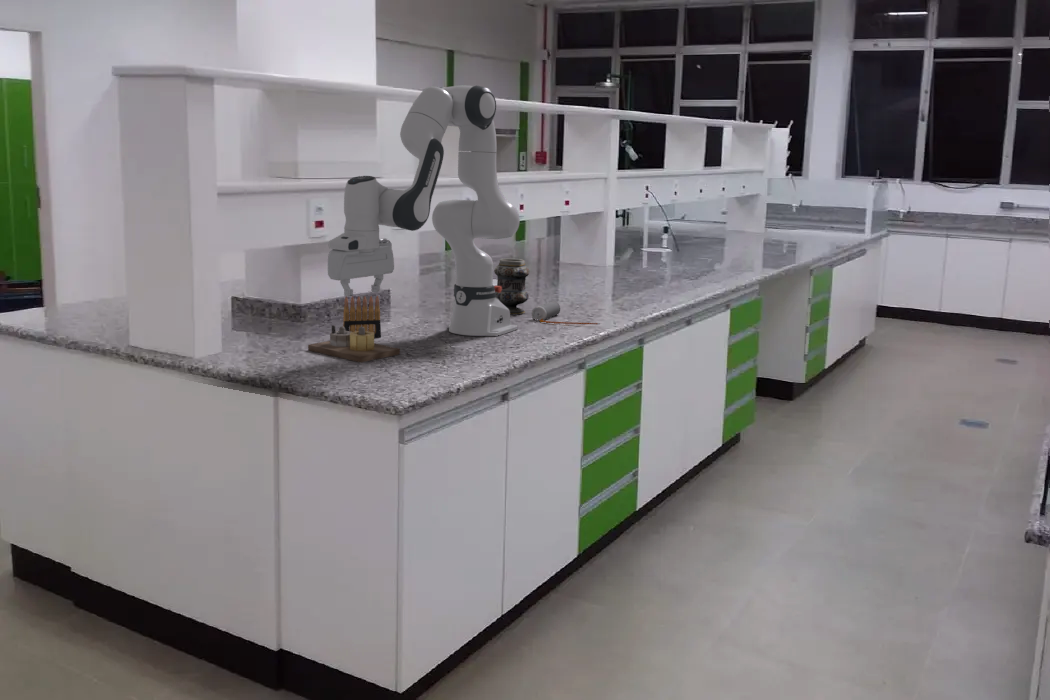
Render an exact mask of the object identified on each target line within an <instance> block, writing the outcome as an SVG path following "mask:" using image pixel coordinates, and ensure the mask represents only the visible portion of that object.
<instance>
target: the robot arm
mask: <svg viewBox="0 0 1050 700" xmlns="http://www.w3.org/2000/svg"><path fill="white" fill-rule="evenodd" d="M496 112H497V100H496V98H495V95H494V94H493V92H492V91H491V89H490V88H488V87H485V86H481V85H468V84H467V85H465V84H464V85H462V84H461V85H460V84H459V85H458V84H457V85H453V86H447V87H446V86H445V87H444V86H441V87H440V86H433V85H432V86H428V87H426V88H424V89H423V90H422V92H420V93H419V95H418V96H417V97H416V99H415V100H414V102H413V104H412V105H411V107H410V108H409V111H408V113H407V115H406V116H405V118H404V120H403V123H402V125H401V128H400V133H399V137H400V141H401V143H402V145H403V147H404V148H405V150H407V151H408V152H409V153H410V154H411V155H412V156H414V157H415V158H417V159H418V160H419V161H418V165H417V168H416V171H415V174H414V178H413V181H412V184H411V185H410V187H408V188H406V189H404V190H403V189H393V188H388V187H386V186H384V185H383V184H381V183H380V182H379V181H378V180H377V178H376V177H375V176H372V175H361V176H360V175H359V176H354V177H351V178H349V179H348V180H347V182H346V184H345V188H344V194H343V213H344V215H345V216H344V217H345V223H344V227H343V229H344V230H343V231H344V232H343V233H341V234H340V235H337V236H336V237H333V238H332V239H330V240H329V241H328V248H329V249H330V251H329V253H328V255H327V275H328V278H329V279H330V280H333V281H340V282H339V283H340V285H341V287H342V289H343V290H344V292H343V295H344V297H346V296H347V298H348V297H352V296H353V297H354V289H353V288H351V287H350V285H349V284H350V283H351V279H352V280H353V279H361V278H366V277H372V276H373V278H374V282H373V284H371V286H370V287H371V293H372V292H373V293H378V292H380V291H381V284H382V282H383V281H384V275H387V274H392V273H394V270H395V259H394V258H395V257H394V253H393V246H392V242H391V241H390V239H388V238H385V237H384V238H380V226H384V227H385V226H386V227H391V228H392V227H393V228H400V229H402V230H406V231H411V232H412V231H413V232H414V231H418V230H420V229H421V228H422V227H423V226H424V225H425V224H426V223H427V221H428V219H429V216H430V212H431V204H432V198H433V195H434V192H435V188H436V185H437V182H438V179H439V175H440V173H441V168H442V165H443V160H444V155H445V152H444V151H445V150H444V146H443V144H442V142H443V141H442V140H443V138H444V135H445V133H446V130H447V129H448V127H454V128H455V127H458V130H459V140H458V151H457V152H458V155H457V156H458V157H457V158H458V160H457V161H458V162H457V177H458V180H459V181H460V182H461V183H462V184H463V185H465V186H466V187H468V188H469V189H470V190H473V191H474V192H475V194H476V197H477V200H474V199H473V200H471V199H450V200H444V201H440V202H438V203H437V204H436V205H435V207H434V209H433V211H432V214H431V215H432V216H431V221H432V225H433V228H434V230H435V231H436V232H437V234H439V235H440V236H441V237H442V238H443V239H444V240H445V241H446V242H447V244H448V245H449V247H450V249H451V252H452V254H453V258H454V267H455V284H454V285H453V297H454V300H453V303H452V306H451V307H452V308H451V314H450V315H451V316H450V323H448V326H447V327H448V332H450V333H452V334H456V335H461V336H471V337H472V336H476V337H477V336H479V337H480V336H481V337H483V336H485V337H486V336H487V337H497V336H498V335H499V336H502V335H505V334H507V333H510V332H513V331H517V330H518V329H519V325H517V324H514V323H511V315H510V311H509V309H508V308H507V307H506V306H505V305H503V304H502V303H501V302H500V301H499V300H498V299H497V298H496V292H498V293H500V292H501V291H502V289H501V288H502V287H501V286H497V285H493V283H494V281H493V280H494V279H493V278H494V262H493V258H492V257H491V256H490V255H489V254H488V253H487V252H485V250H482V249H480V248H479V247H478V246H477V245H476V244H475V239H485V240H486V239H487V240H501V239H502V240H503V239H508V238H512V237H513V236H514V235H515V234H516V233H517V231H518V230H519V226H520V221H521V220H520V214H519V212H518V209H517V208H516V207H515V205H513V204H512V203H511V202H510V201H509V200H508V199H507V198H506V197H505V195H504V194H503V192H502V190H501V188H500V185H499V182H498V175H497V172H498V171H497V152H498V151H497V150H498V149H497V145H498V144H497V133H496V125H495V121H494V118H495V116H496Z"/></svg>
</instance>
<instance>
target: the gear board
mask: <svg viewBox="0 0 1050 700" xmlns="http://www.w3.org/2000/svg"><path fill="white" fill-rule="evenodd" d="M338 329H339V330H336V325H331V331H330V333H329V335H330V336H329V337H330V338H329V340H327V341H321V342H317V343H310V344H307V347H308V348H307V350H308V351H310V352H313V353H314V352H315V353H318V354H323V355H327V356H332V357H335V358H341V359H344V360H348V361H353V362H357V363H364V362H369V361H373V360H379V359H384V358H389V357H393V356H394V357H395V356H397V355H400V354H401V349H400V348H398V347H394V346H389V345H383V344H379V343H376V342H374V350H369V351H355V350H351V349H350V330H349V331H345V327H343V325H342V326H340V327H338ZM359 335H365V328H364V327H360V328H359Z"/></svg>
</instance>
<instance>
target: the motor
mask: <svg viewBox="0 0 1050 700" xmlns="http://www.w3.org/2000/svg"><path fill="white" fill-rule="evenodd" d="M560 313H561V306H560V303H559V302H557V301H554V300H551V301H549V302H546V303H544V304H541V305H537V306H535V307H534V308H533V309H532V311H531V318H532V319H533V320H534V319H536V320H535V321H537V319H538V320H539V321H540V322H539V323H541V322H546V323H554V324H565V325H601V323H599V322H571V321H570V322H569V321H566V322H565V321H549V320H548V319H550V317H551V318H553V317H556V316H557V314H558V315H559V314H560ZM555 315H556V316H555ZM552 316H553V317H552ZM547 318H548V319H547ZM545 319H546V320H545Z"/></svg>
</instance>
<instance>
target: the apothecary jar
mask: <svg viewBox="0 0 1050 700" xmlns="http://www.w3.org/2000/svg"><path fill="white" fill-rule="evenodd" d="M493 273H494V274H495V275H496V276H497V279H496V281H497V282H496V283H497V284H496V286H501V287H502V288H501V289H502V291H501V292H500V293H498V292H496V298H497V299H498V300H499V301H500V302H501V303H502V304H503V305H505V306H506V307H507V308H508V309H509V311H510V314H517V315H523V314H526V311H525V310H524V309H523V308H520V307H518V305H521V304H524V303H526V302H527V301H528V300H529V297H530V295H529V293H528V291H527V290H526V278H527V277H528V275H530V269H529V268H528V266H527V265H526V260H524V259H520V258H507V257H506V258H500V259H499V262H498V265H497V266H495V267H494V268H493Z"/></svg>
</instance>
